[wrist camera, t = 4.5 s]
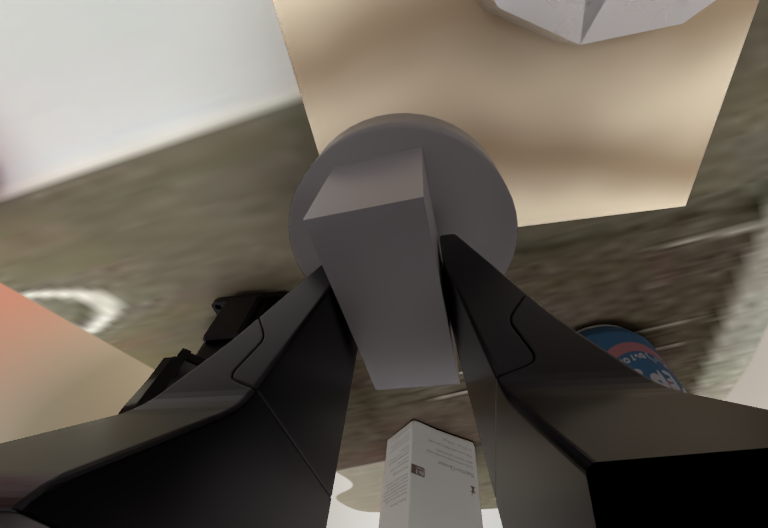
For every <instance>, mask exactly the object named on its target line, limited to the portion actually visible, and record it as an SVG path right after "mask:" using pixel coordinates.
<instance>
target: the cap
mask: <svg viewBox="0 0 768 528" xmlns="http://www.w3.org/2000/svg"><path fill="white" fill-rule="evenodd" d="M288 228H289V238H290V243H291V247H292V251H293V254H294V256H295V259H296V261H297V263H298V265H299V267H300V269H301V271H302V272H303V274H304V275H305V277H306V278H307V277H308V276H309V275H310V274H311V273H312V272H314V271H315V270H316V269H317V268H318V267H319V266H321V265H322V266H323V268H324V271H325V273H326V275H327V278H328V280H329V282H330V285H331V287H332V289H333V291H334V294H335V296H336V298H337V301H338V303H339V305H340V308H341V310H342V312H343V315H344V317H345V319H346V322H347V324H348V326H349V329H350V331H351V333H352V335H353V338H354V340H355V342H356V345H357V347H358V349H359V352H360V354H361V356H362V359H363V361H364V363H365V366H366V368H367V370H368V372H369V375H370V377H371V379H372V382H373V384H374V386H375V389H376V390H384V389H398V388H411V387H424V386H437V385H451V384H460V381H459V373H458V364H457V356H456V347H455V339H454V335H453V332H452V328H451V324H450V319H449V313H448V307H447V300H446V291H445V282H444V273H443V264H442V255H441V246H440V236H441V235H447V234H456V235H457V236H458V237H460V238H461V239H462V240H463V241H464V242H466V243H467V244H468V245H469V246H470V247H472V248H473V249H474V250H475V251H476V252H477V253H479V254H480V255H481V256H482V257H483V258H485V259H486V260H487V261H488V262H489V263H491V264H492V265H493V266H494V267H495V268H497V269H498V270H499V271H500V272H501V273H503V274H505V273H506V271H507V269H508V267H509V265H510V263H511V260H512V258H513V255H514V252H515V247H516V243H517V233H518V223H517V214H516V209H515V206H514V202H513V199H512V196H511V194H510V192H509V190H508V188H507V186H506V184H505V182H504V180H503V178H502V176H501V175H500V173H499V171H498V169H497V167H496V166H495V164H494V162H493V161H492V159H491V158H490V156H489V155H488V153H487V152H486V151H485V149H484V148H483V147H482V146H481V145H480V144H479V143H478V142H477V141H476V140H475V139H474V138H472V137H471V136H470V135H469V134H467V133H466V132H465V131H463V130H461V129H460V128H458V127H456V126H455V125H453V124H451V123H448V122H446V121H443V120H441V119H439V118H435V117H431V116H427V115H422V114H412V113H394V114H387V115H381V116H376V117H373V118H370V119H367V120H364V121H361V122H359V123H357V124H355V125H353V126H351V127H349V128H348V129H346V130H345V131H344V132H342V133H341V134H339V135H338V136H337V137H336V138H334V139H333V140H332V141H331V142H330V143H329V144H328V145H327V146H326V147H325V149H324V150H323V151H322V152H321V154H320V155H319V156H318V158H317V159H316V160H315V162H314V163H313V164H312V166H311V167H310V168H309V170H308V171H307V172H306V174H305V175H304V176H303V178H302V180H301V182H300V183H299V185H298V187H297V189H296V191H295V194H294V197H293V199H292V203H291V207H290V212H289V226H288Z"/></svg>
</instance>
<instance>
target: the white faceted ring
mask: <svg viewBox="0 0 768 528" xmlns="http://www.w3.org/2000/svg"><path fill="white" fill-rule="evenodd" d="M478 1H479V3H480V5H481V7H482V9H483V10H484V11H486V12H489V13H491V14H493V15H495V16H497V17H500V18H502V19H504V20H506V21H509V22H511V23H513V24H515V25H517V26H520V27H522V28H524V29H526V30H528V31H531V32H533V33H535V34H537V35H539V36H542V37H544V38H546V39H548V40H551V41H556V42H563V43H570V44H577V45H582V44H587V43H592V42H596V41H601V40H606V39H611V38H616V37H621V36H625V35H630V34H635V33H640V32H645V31H650V30H654V29H659V28H664V27H669V26H674V25H679V24H683V23H684V22H686V21H687V20H689V19H690V18H691V17H693V16H694V15H696V14H697V13H698V12H700V11H701V10H703V9H704V8H705V7H707V6H708V5H710V4H711V3H713V2H714V1H715V0H478Z"/></svg>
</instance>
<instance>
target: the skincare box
mask: <svg viewBox="0 0 768 528" xmlns="http://www.w3.org/2000/svg"><path fill="white" fill-rule="evenodd" d="M379 528H483V525H482V515H481V505H480V496H479V485H478V475H477V465H476V455H475V446H474V444H473V442H470V441H468V440H464V439H461V438H458V437H455V436H453V435H450V434H447V433H444V432H442V431H439V430H436V429H434V428H431V427H429V426H427V425H424V424H422V423H420V422H418V421H411V422H410V423H409V424H407V425H406V426H405V427H404V428H402V429H401V430H400V431H399V432H397V433H396V434H395V435H393V436H392V437H391V438H390V439H388V441H387V452H386V462H385V472H384V481H383V491H382V501H381V511H380V520H379Z"/></svg>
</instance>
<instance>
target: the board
mask: <svg viewBox="0 0 768 528" xmlns="http://www.w3.org/2000/svg"><path fill="white" fill-rule="evenodd" d="M272 1H273V5H274V8H275V11H276V14H277V18H278V21H279V24H280V28H281V31H282V34H283V37H284V41H285V44H286V47H287V51H288V54H289V57H290V60H291V64H292V67H293V70H294V74H295V77H296V80H297V84H298V87H299V90H300V93H301V97H302V100H303V103H304V107H305V110H306V113H307V116H308V120H309V123H310V126H311V130H312V133H313V136H314V139H315V143H316V146H317V149H318V153H319V155H320V154H321V152H322V151H323V150H324V149H325V147H326V146H327V145H328V144H329V143H330V142H331V141H332V140H333V139H334V138H336V137H337V136H338V135H339V134H341V133H342V132H344V131H345V130H346V129H348V128H349V127H351V126H353V125H355V124H357V123H359V122H361V121H364V120H367V119H370V118H373V117H376V116H381V115H387V114H394V113H412V114H422V115H427V116H431V117H435V118H439V119H441V120H443V121H446V122H448V123H451V124H453V125H455V126H456V127H458V128H460V129H461V130H463V131H465V132H466V133H467V134H469V135H470V136H471V137H472V138H474V139H475V140H476V141H477V142H478V143H479V144H480V145H481V146H482V147H483V148H484V149H485V151H486V152H487V153H488V155H489V156H490V158H491V159H492V161H493V162H494V164H495V166H496V167H497V169H498V171H499V173H500V175H501V176H502V178H503V180H504V182H505V184H506V186H507V188H508V190H509V192H510V194H511V196H512V199H513V202H514V206H515V209H516V214H517V223H518V227H521V226H529V225H537V224H545V223H553V222H561V221H569V220H577V219H585V218H593V217H601V216H609V215H617V214H625V213H633V212H641V211H649V210H657V209H665V208H673V207H681V206H686V203H687V200H688V197H689V195H690V192H691V189H692V186H693V183H694V181H695V178H696V175H697V172H698V169H699V167H700V164H701V161H702V158H703V156H704V153H705V150H706V147H707V144H708V142H709V139H710V136H711V133H712V130H713V128H714V125H715V122H716V119H717V117H718V114H719V111H720V108H721V105H722V103H723V100H724V97H725V94H726V91H727V89H728V86H729V83H730V80H731V78H732V75H733V72H734V69H735V66H736V64H737V61H738V58H739V55H740V52H741V50H742V47H743V44H744V41H745V39H746V36H747V33H748V30H749V27H750V25H751V22H752V19H753V16H754V13H755V11H756V8H757V5H758V2H759V0H715V1H714V2H713V3H711V4H710V5H708V6H707V7H705V8H704V9H703V10H701V11H700V12H698V13H697V14H696V15H694V16H693V17H691V18H690V19H689V20H687V21H686V22H684V23H683V24H679V25H674V26H669V27H664V28H659V29H654V30H650V31H645V32H640V33H635V34H630V35H625V36H621V37H616V38H611V39H606V40H601V41H596V42H592V43H587V44H582V45H577V44H570V43H563V42H556V41H551V40H548V39H546V38H544V37H542V36H539V35H537V34H535V33H533V32H531V31H528V30H526V29H524V28H522V27H520V26H517V25H515V24H513V23H511V22H509V21H506V20H504V19H502V18H500V17H497V16H495V15H493V14H491V13H489V12H486V11H484V10H483V9H482V7H481V5H480V3H479V1H478V0H272Z"/></svg>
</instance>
